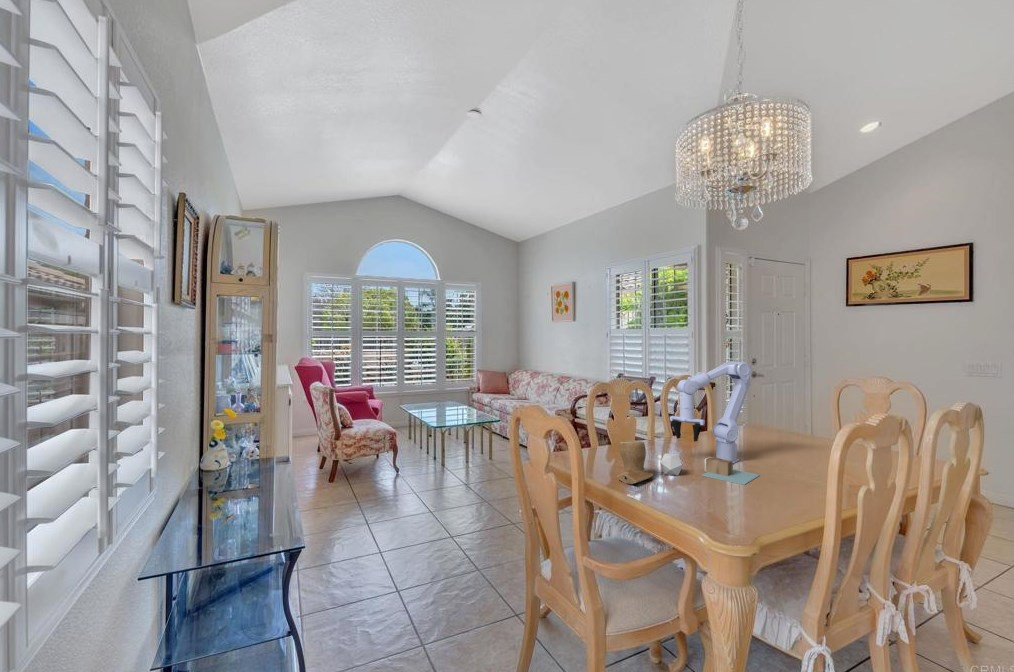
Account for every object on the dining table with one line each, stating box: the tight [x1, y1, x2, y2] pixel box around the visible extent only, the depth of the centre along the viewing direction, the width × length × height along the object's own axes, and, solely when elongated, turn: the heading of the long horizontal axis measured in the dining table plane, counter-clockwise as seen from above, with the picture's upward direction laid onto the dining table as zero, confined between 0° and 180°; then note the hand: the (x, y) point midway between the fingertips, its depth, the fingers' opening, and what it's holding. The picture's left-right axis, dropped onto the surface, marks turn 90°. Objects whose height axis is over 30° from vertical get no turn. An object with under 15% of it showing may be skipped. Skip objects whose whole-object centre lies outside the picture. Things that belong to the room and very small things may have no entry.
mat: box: [701, 469, 760, 486], centre depth 184 cm, size 16×16×1 cm
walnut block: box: [704, 456, 734, 476], centre depth 187 cm, size 5×5×9 cm
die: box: [659, 452, 683, 476], centre depth 187 cm, size 8×9×10 cm
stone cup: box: [616, 440, 654, 485], centre depth 180 cm, size 15×12×15 cm
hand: (687, 439), depth 201 cm, fingers open, 7 cm apart
